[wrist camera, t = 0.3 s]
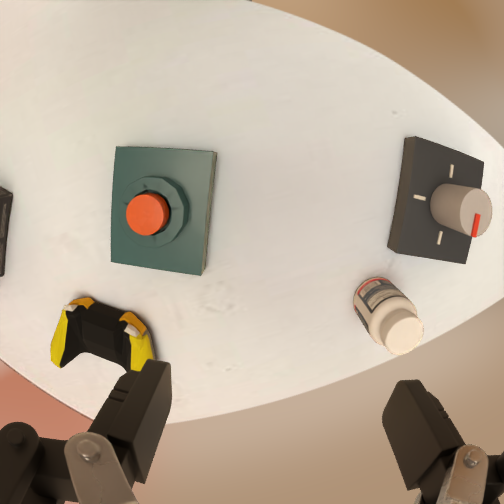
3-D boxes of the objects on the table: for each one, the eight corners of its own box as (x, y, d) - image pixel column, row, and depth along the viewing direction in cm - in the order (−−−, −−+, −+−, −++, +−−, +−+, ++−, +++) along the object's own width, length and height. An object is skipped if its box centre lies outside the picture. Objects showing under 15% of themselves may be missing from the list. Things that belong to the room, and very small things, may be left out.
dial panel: (404, 137, 27) (416, 135, 24) (471, 161, 27) (485, 162, 24) (387, 246, 30) (396, 253, 28) (454, 258, 30) (466, 264, 28)
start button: (134, 191, 26) (126, 193, 24) (170, 194, 26) (164, 196, 24) (132, 229, 27) (125, 233, 25) (168, 233, 27) (162, 237, 25)
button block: (125, 147, 28) (107, 145, 24) (217, 152, 28) (210, 150, 24) (119, 256, 32) (103, 267, 28) (205, 268, 32) (197, 282, 28)
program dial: (433, 179, 26) (466, 183, 20) (463, 188, 26) (497, 195, 20) (426, 221, 27) (457, 233, 21) (456, 228, 27) (488, 241, 21)
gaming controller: (160, 381, 36) (168, 320, 33) (148, 408, 31) (153, 345, 28) (66, 345, 36) (63, 284, 33) (46, 366, 30) (38, 301, 28)
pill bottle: (387, 319, 33) (418, 361, 24) (348, 317, 33) (371, 362, 24) (399, 278, 31) (437, 312, 23) (358, 273, 31) (388, 309, 23)
